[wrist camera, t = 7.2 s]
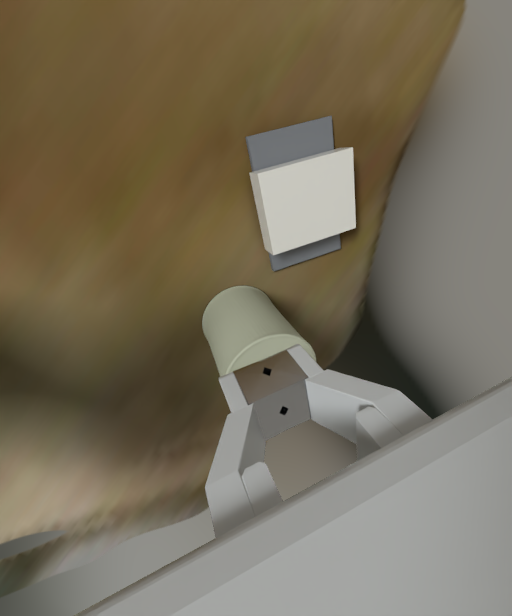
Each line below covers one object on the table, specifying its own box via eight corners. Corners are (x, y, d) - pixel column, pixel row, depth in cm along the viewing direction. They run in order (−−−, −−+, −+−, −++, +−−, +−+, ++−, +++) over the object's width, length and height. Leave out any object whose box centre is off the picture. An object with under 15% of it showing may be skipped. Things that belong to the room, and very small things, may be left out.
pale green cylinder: (213, 278, 33) (242, 330, 23) (283, 292, 37) (334, 342, 27) (193, 347, 36) (212, 419, 26) (260, 353, 40) (299, 419, 30)
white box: (273, 255, 31) (356, 227, 32) (257, 173, 27) (352, 147, 28) (264, 248, 33) (342, 223, 35) (248, 172, 29) (337, 148, 31)
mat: (272, 269, 35) (273, 271, 34) (245, 137, 28) (247, 136, 27) (337, 247, 37) (340, 248, 36) (328, 116, 30) (331, 115, 29)
